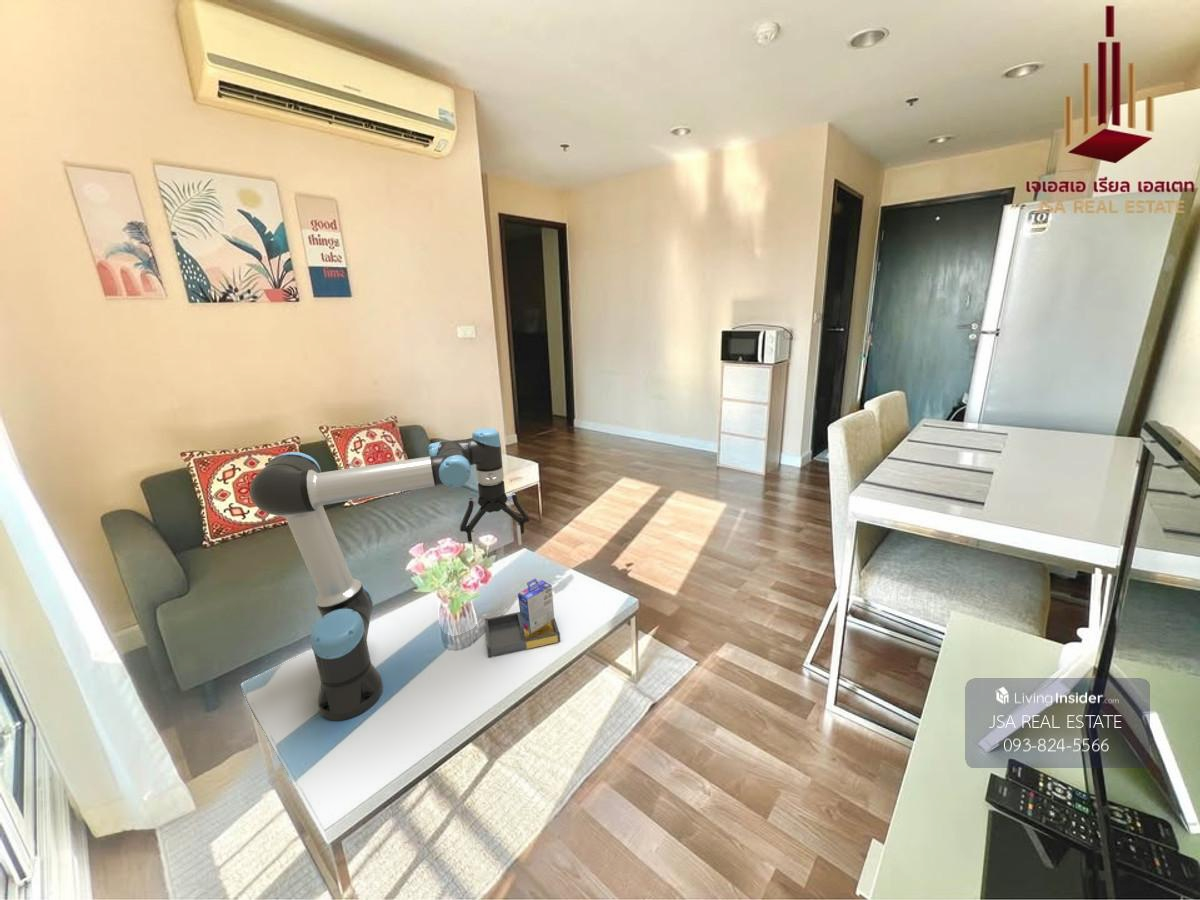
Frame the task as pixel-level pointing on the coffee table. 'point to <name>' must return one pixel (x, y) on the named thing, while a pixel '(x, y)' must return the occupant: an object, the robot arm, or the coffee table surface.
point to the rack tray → (516, 635)
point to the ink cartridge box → (536, 605)
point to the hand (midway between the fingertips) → (497, 546)
